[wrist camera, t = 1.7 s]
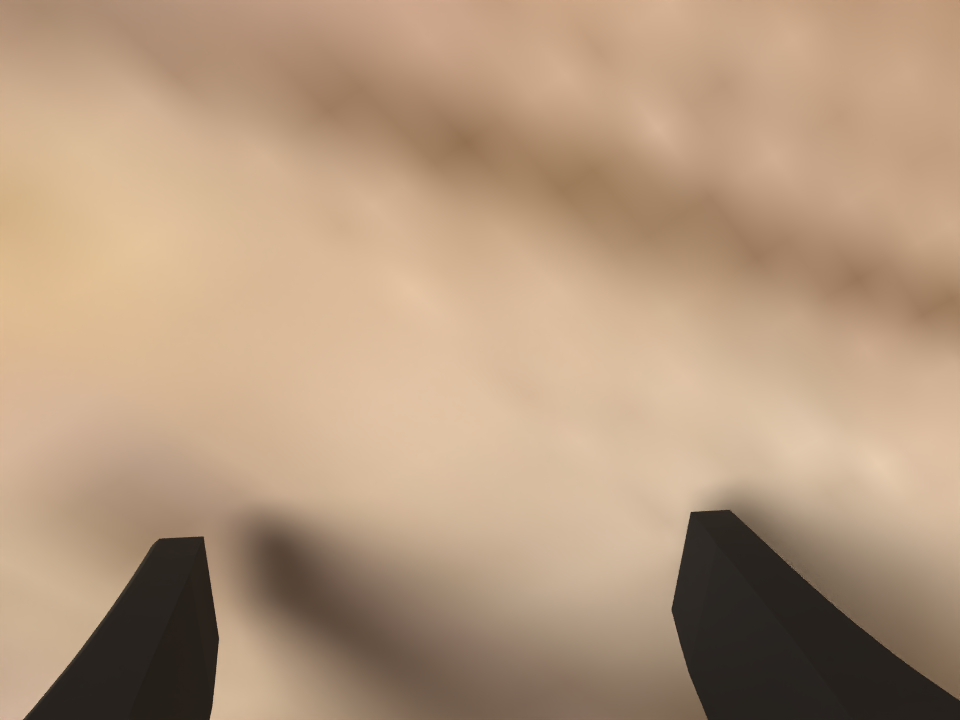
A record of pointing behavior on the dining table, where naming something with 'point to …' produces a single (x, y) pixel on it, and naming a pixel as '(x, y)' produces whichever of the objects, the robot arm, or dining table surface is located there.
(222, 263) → the dining table surface
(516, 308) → the dining table surface
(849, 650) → the robot arm
